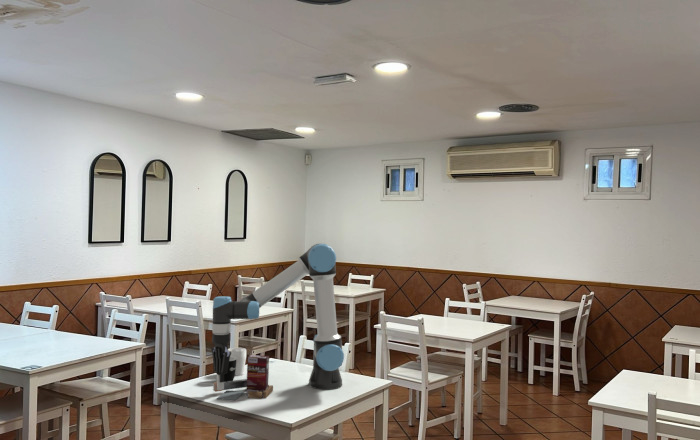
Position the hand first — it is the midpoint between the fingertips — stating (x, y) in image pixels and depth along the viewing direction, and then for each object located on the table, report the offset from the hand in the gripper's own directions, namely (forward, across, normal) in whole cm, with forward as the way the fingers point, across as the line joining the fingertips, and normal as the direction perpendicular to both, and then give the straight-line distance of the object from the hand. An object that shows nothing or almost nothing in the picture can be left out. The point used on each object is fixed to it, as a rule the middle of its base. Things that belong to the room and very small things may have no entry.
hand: (220, 389), depth 239 cm
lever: (+2, +1, -8) cm, 8 cm away
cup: (+2, +27, -24) cm, 36 cm away
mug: (+2, +20, -14) cm, 25 cm away
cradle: (+2, -6, -14) cm, 16 cm away
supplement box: (+3, -8, -13) cm, 16 cm away
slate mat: (+2, -4, -3) cm, 5 cm away
